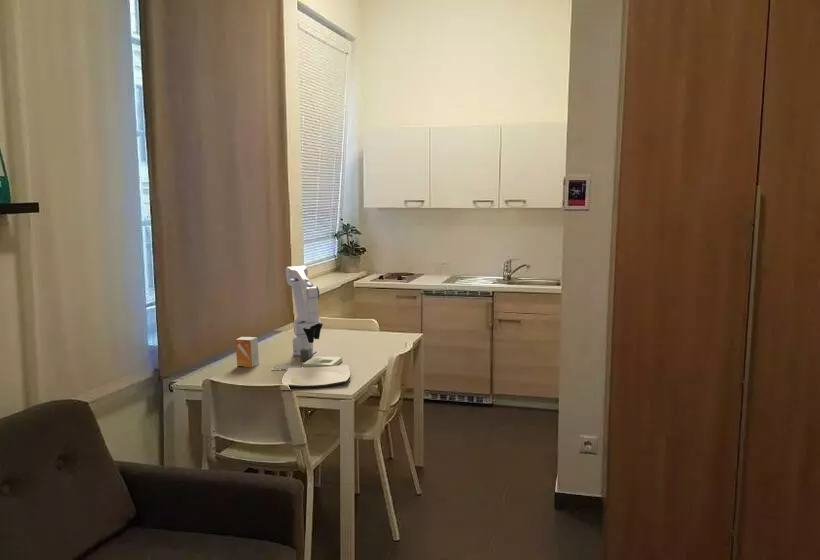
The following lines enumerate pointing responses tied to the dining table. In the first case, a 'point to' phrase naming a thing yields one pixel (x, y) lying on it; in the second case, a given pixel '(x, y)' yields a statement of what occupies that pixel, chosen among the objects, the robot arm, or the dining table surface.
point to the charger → (306, 354)
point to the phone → (286, 367)
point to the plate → (318, 376)
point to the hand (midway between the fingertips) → (313, 340)
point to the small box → (247, 351)
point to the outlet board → (322, 362)
